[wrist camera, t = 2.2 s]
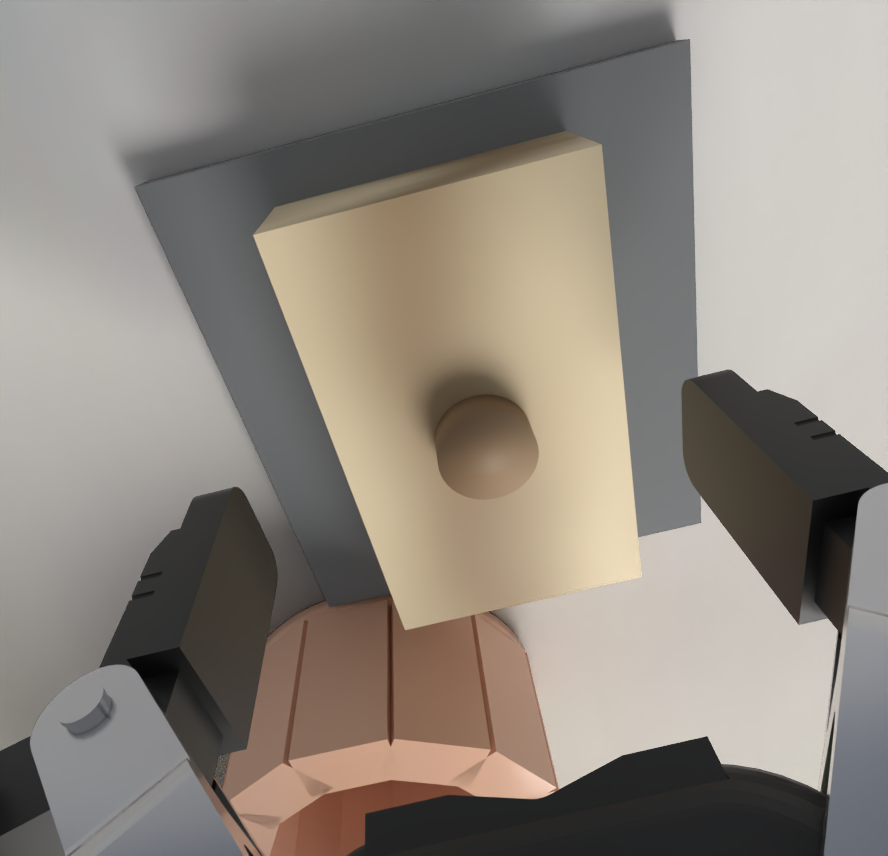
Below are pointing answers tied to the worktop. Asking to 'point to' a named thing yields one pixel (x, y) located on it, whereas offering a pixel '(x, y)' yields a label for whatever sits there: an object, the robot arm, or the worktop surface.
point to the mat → (415, 147)
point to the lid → (470, 372)
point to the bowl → (383, 724)
